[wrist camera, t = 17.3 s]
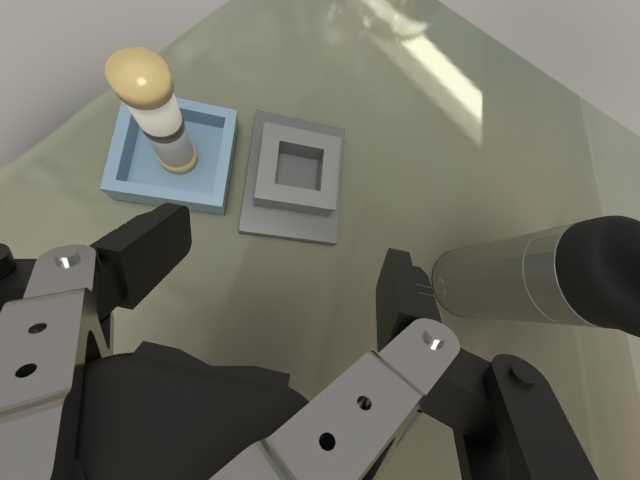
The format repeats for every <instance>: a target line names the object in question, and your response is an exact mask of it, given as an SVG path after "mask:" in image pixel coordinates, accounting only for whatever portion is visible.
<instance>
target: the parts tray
mask: <svg viewBox="0 0 640 480" xmlns="http://www.w3.org/2000/svg"><path fill="white" fill-rule="evenodd" d="M175 98H176V97H175ZM176 101H177V103H178V106H179V109H180V111H181V114H182V117H183V119H184V122H185V126H186V129H187V132H188V135H189V137H190V140H191V142H192V143H193V145H194V146H195V149H196V152H197V155H198V162H197V165H196V167H195V168H194V169H193V170H192V171H190V172H189V173H186V174H181V175H177V174H172V173H170V172H168V171H166V170H165V169H164V168H163V167H162V165H161V164H160V162H159V160H158V159H157V156H156V152H155V150H154V149H153V147H152V146H151V144H150V142H149V141H148V139H147V137H146V136H145V135H144V133H143V132H142V130H141V128H140V127H139V125H138V123H137V121H136V120H135V118H134V117H133V115H132V113H131V112H130V110H129V108H128V107H127V105H126V104H125V103H124V102H121V106H120V110H119V114H118V118H117V122H116V126H115V130H114V134H113V138H112V142H111V146H110V150H109V154H108V158H107V162H106V165H105V169H104V173H103V177H102V181H101V185H100V189H101V190H102V191H103V192H105V193H106V194H107V195H109V196H110V197H111V198H113V199H114V200H120V201H128V202H135V203H142V204H149V205H156V206H161V205H162V204H164V203H166V202H169V203H174V204H179V205H184V206H187V207H188V209H189V210H192V211H199V212H206V213H213V214H220V215H225V208H226V202H227V195H228V189H229V182H230V176H231V170H232V163H233V157H234V150H235V144H236V137H237V131H238V114H237V110H232V109H227V108H223V107H218V106H213V105H209V104H204V103H199V102H195V101H190V100H185V99H181V98H176Z"/></svg>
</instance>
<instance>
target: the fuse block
mask: <svg viewBox="0 0 640 480" xmlns="http://www.w3.org/2000/svg"><path fill="white" fill-rule="evenodd" d="M344 136H345V129H342V128H337V127H333V126H328V125H324V124H319V123H315V122H310V121H305V120H301V119H296V118H292V117H287V116H282V115H278V114H273V113H269V112H264V111H260V110H256V113H255V120H254V127H253V134H252V141H251V148H250V155H249V162H248V169H247V176H246V183H245V190H244V197H243V204H242V211H241V218H240V225H239V233H242V234H249V235H257V236H265V237H273V238H280V239H288V240H296V241H304V242H312V243H319V244H327V245H335V244H337V234H338V220H339V206H340V192H341V178H342V164H343V150H344Z"/></svg>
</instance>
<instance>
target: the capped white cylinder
mask: <svg viewBox="0 0 640 480" xmlns="http://www.w3.org/2000/svg"><path fill="white" fill-rule="evenodd" d="M105 75H106V78H107V80H108V82H109V83H110V85H111V86H112V88H113V90H114V91H115V93H116V94H117V96H118V97H119V99H120V100H121V101H122V102H124V103H125V104H126V105H127V107H128V108H129V110H130V112H131V113H132V115H133V117H134V118H135V120H136V121H137V123H138V125H139V127H140V128H141V130H142V132H143V133H144V135H145V136H146V137H147V139H148V141H149V142H150V144H151V146H152V147H153V149H154V150H155V152H156V156H157V159H158V160H159V162H160V164H161V165H162V167H163V168H164V169H165V170H166V171H168V172H170V173H172V174H177V175H181V174H186V173H189V172H190V171H192V170H193V169H194V168H195V167H196V165H197V162H198V155H197V152H196V149H195V146H194V145H193V143H192V142H191V140H190V137H189V135H188V132H187V129H186V126H185V122H184V119H183V117H182V114H181V111H180V109H179V106H178V103H177V101H176V98H175V95H174V92H173V91H174V85H173V81H172V78H171V75H170V72H169V70H168V67H167V65H166V63H165V61H164V60H163V59H162V58H161V57H160V56H159V55H158V54H156V53H154V52H153V51H151V50H148V49H146V48H141V47H127V48H123V49H120V50H118V51H116V52H115V53H113V54H112V55H111V56H110V57H109V59H108V60H107V63H106V66H105Z"/></svg>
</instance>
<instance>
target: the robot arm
mask: <svg viewBox="0 0 640 480" xmlns="http://www.w3.org/2000/svg"><path fill="white" fill-rule="evenodd" d="M191 242H192V239H191V226H190V214H189V209H188V207H187V206H184V205H179V204H174V203H169V202H166V203H164V204H162V205H161V206H159V207H157V208H156V209H154V210H153V211H150V212H147V213H144V214H141V215H138V216H136V217H134V218H133V219H131V220H130V221H128V222H127V224H123V225H122V226H120V227H118V229H115V230H114V231H112V232H110V233H109V234H107V235H106V236H104V237H102V238H101V239H99V240H98V241H96V242H94V243H93V244H91V245H90V246H86V245H67V246H61V247H58V248H54V249H52V250H49V251H47V252H45V253H44V254H42V255H41V256H39V258H38V259H14V258H13V255H12V253H11V251H10V249H9V247H8V246H7V245H4V244H1V243H0V480H376V478H377V477H378V476H379V474H380V473H381V471H382V470H383V468H384V466H385V465H386V463H387V462H388V460H389V459H390V457H391V456H392V454H393V453H394V452H395V450H396V449H397V448H398V446H399V445H400V443H401V442H402V441H403V439H404V438H405V437H406V435H407V434H408V432H409V431H410V430H411V428H412V427H413V426H414V424H415V423H416V422H417V420H418V419H419V417H420V416H421V415H422V413H423V412H424V413H426V414H427V415H429V416H431V417H433V418H435V419H436V420H438V421H440V422H442V423H444V424H445V425H447V426H449V427H451V428H453V433H454V438H455V444H456V449H457V455H458V460H459V466H460V471H461V477H462V480H599V479H598V477H597V475H596V473H595V472H594V470H593V468H592V466H591V464H590V462H589V460H588V458H587V456H586V454H585V452H584V450H583V448H582V446H581V445H580V443H579V441H578V439H577V437H576V435H575V433H574V431H573V429H572V427H571V425H570V423H569V421H568V419H567V418H566V416H565V414H564V412H563V410H562V408H561V406H560V404H559V402H558V400H557V398H556V396H555V394H554V392H553V391H552V389H551V387H550V385H549V383H548V381H547V380H546V379H545V377H544V376H543V375H542V374H541V373H540V372H539V371H538V370H537V369H536V368H535V367H533V366H532V365H531V364H529V363H528V362H526V361H524V360H522V359H521V358H518V357H516V356H513V355H508V354H499V355H497V356H495V357H494V359H493V360H492V361H491V362H489V361H486V360H484V359H482V358H480V357H478V356H476V355H474V354H471V353H469V352H467V351H465V350H464V349H462V348H461V347H460V343H459V340H458V338H457V337H456V335H455V334H454V333H453V332H452V331H451V330H450V329H449V328H448V327H446V326H445V325H443V324H442V322H441V318H440V315H439V311H438V308H437V305H436V301H435V298H434V296H433V295H434V294H433V291H432V288H431V284H430V281H429V277H428V276H427V275H426V274H425V272H424V271H423V270H422V269H421V268H420V267H415V266H412V262H411V257H410V253H409V252H406V251H401V250H396V249H391V248H389V250H388V252H387V254H386V257H385V260H384V264H383V267H382V270H381V273H380V276H379V279H378V283H377V288H376V319H377V348H378V354H376V353H375V352H374V351H369V352H367V353H366V354H365V355H363V356H362V357H361V358H360V359H359V360H358V361H357V362H355V363H354V364H353V365H352V366H351V367H350V368H348V369H347V370H346V371H345V372H344V373H343V374H341V375H340V376H339V377H338V378H337V379H336V380H335V381H333V382H332V383H331V384H330V385H329V386H328V387H326V388H325V389H324V390H323V391H322V392H321V393H319V394H318V395H317V396H316V397H315V398H314V399H313V400H311V401H310V402H309V401H308V400H307V399H306V398H305V397H303V396H302V395H301V394H299V393H298V392H297V391H295V390H293V389H292V388H290V387H288V384H289V378H290V374H287V373H282V372H278V371H273V370H269V369H265V368H260V367H256V366H210V365H208V364H206V363H204V362H202V361H200V360H198V359H197V358H195V357H193V356H191V355H189V354H187V353H185V352H183V351H182V350H180V349H177V348H172V347H168V346H163V345H159V344H154V343H150V342H146V341H143V342H142V343H141V344H140V346H139V347H138V348H137V349H136V350H135V352H134V353H123V354H116V355H113V342H114V315H113V312H112V311H113V310H114V309H115V308H116V307H117V306H118V307H122V308H127V309H131V310H133V309H134V308H135V307H136V306H137V305H138V304H139V303H140V302H141V301H142V300H143V299H144V298H145V297H146V296H147V295H148V294H149V293H150V292H151V291H152V290H153V289H154V288H155V287H156V286H157V285H158V283H159V282H160V281H161V280H162V279H163V278H164V277H165V276H166V275H167V274H168V273H169V272H170V271H171V270H172V269H173V268H174V267H175V266H176V265H177V264H178V263H179V262H180V261H181V260H182V259H183V258H184V257H185V256H186V255H187V254H188V252H189V250H190V248H191ZM432 283H433V289H434V292H435V295H436V297H437V299H438V301H439V302H440V303H441V305H442V306H443V307H444V308H445V309H447V310H448V311H450V312H451V313H453V314H456V315H460V316H471V317H481V318H492V319H503V320H515V321H527V322H538V323H550V324H562V325H575V326H587V327H599V328H611V329H619V330H622V331H624V332H626V333H629V334H631V335H634V336H637V337H640V221H638V220H635V219H632V218H629V217H624V216H605V217H599V218H594V219H590V220H586V221H581V222H578V223H573V224H569V225H565V226H560V227H556V228H551V229H547V230H543V231H539V232H534V233H530V234H525V235H521V236H516V237H512V238H507V239H503V240H498V241H494V242H489V243H485V244H480V245H476V246H471V247H467V248H462V249H458V250H453V251H450V252H447V253H446V254H444V255H443V256H441V258H440V259H439V260H438V261H437V263H436V265H435V267H434V270H433V276H432Z"/></svg>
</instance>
